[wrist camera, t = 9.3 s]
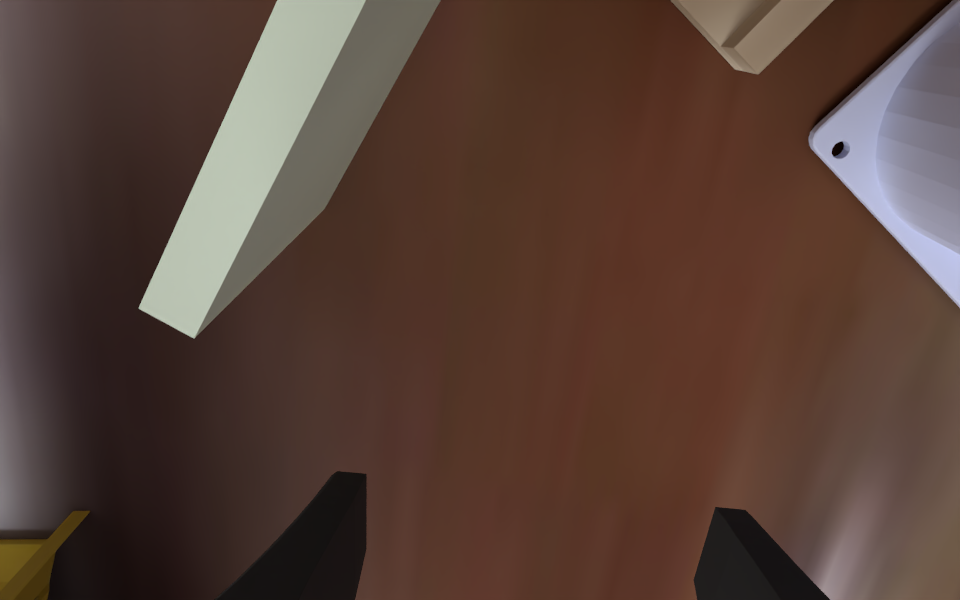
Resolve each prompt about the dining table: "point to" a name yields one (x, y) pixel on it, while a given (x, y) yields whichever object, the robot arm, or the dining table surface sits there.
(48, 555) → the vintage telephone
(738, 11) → the offcut rack
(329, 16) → the sheet
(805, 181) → the dining table surface
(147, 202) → the dining table surface
